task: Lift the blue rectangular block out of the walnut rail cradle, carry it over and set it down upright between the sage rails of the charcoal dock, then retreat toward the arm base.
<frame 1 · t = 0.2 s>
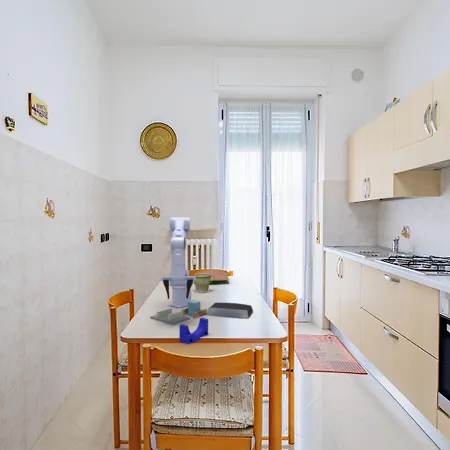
hand: (177, 298, 147), 10 cm above the table, tool pointing down, fingers open, 7 cm apart
cable clip: (195, 339, 131), on the table
dock: (170, 318, 155), on the table
ceramic cup: (204, 291, 210), on the table
sandwich: (211, 281, 246), on the table
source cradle: (194, 314, 161), on the table
external hard drive: (230, 315, 164), on the table
blue rectangular block: (194, 314, 161), on the table
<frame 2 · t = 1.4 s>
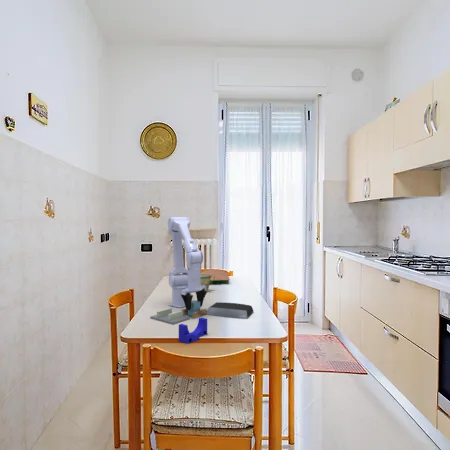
hand: (194, 308, 161), 3 cm above the table, tool pointing down, fingers open, 7 cm apart
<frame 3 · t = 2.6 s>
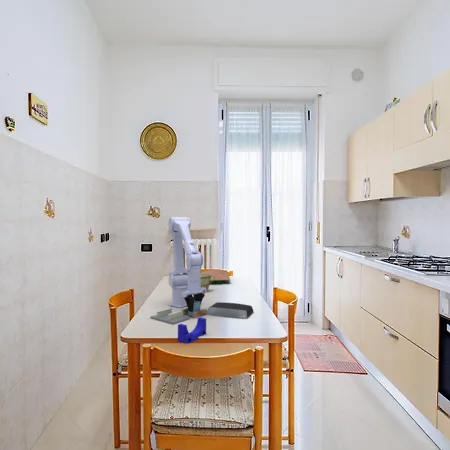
hand: (194, 310, 161), 2 cm above the table, tool pointing down, fingers closed on blue rectangular block, 4 cm apart
blue rectangular block: (194, 314, 161), on the table, touching gripper
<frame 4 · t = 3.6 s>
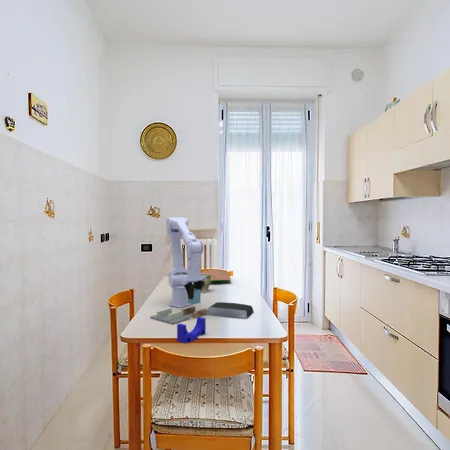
hand: (194, 298, 161), 8 cm above the table, tool pointing down, fingers closed on blue rectangular block, 4 cm apart
blue rectangular block: (194, 302, 161), point 5 cm above the table, touching gripper
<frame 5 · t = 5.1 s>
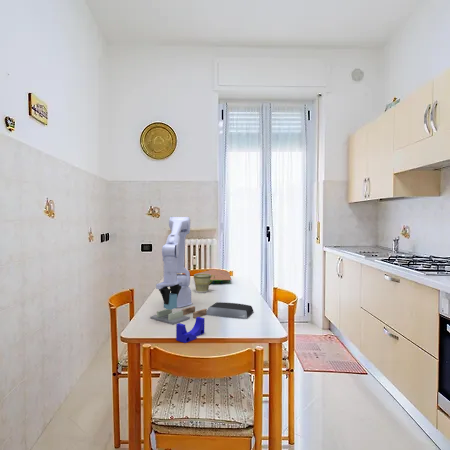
hand: (170, 303, 154), 7 cm above the table, tool pointing down, fingers closed on blue rectangular block, 4 cm apart
blue rectangular block: (170, 307, 154), point 5 cm above the table, touching gripper
when the fingers open (4 cm above the table, at t = 6.4 s): blue rectangular block stays where it is, resting on dock.
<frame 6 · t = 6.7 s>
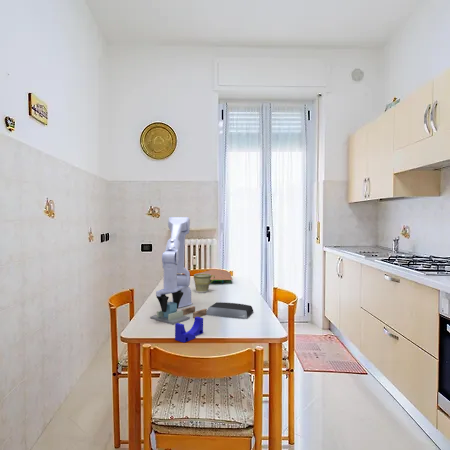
hand: (170, 310, 154), 4 cm above the table, tool pointing down, fingers open, 6 cm apart
blue rectangular block: (170, 316, 154), point 1 cm above the table, touching dock
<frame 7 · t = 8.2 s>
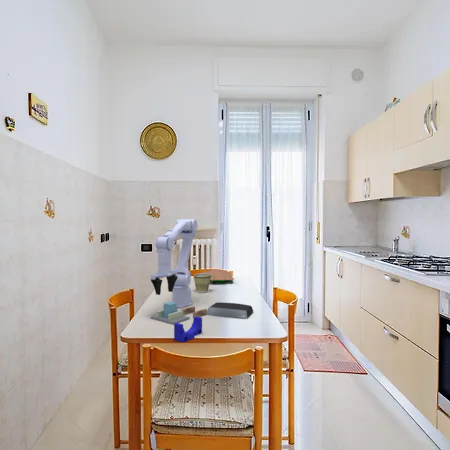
hand: (164, 293, 162), 9 cm above the table, tool pointing down, fingers open, 7 cm apart
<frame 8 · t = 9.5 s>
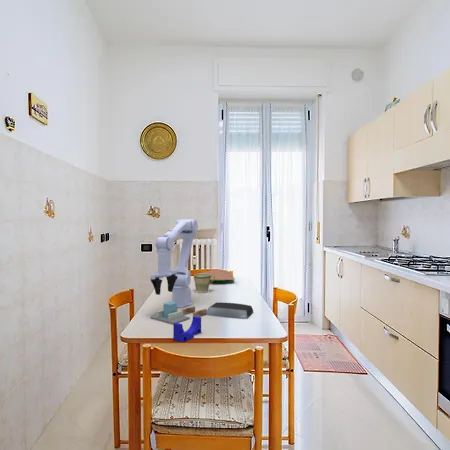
hand: (164, 293, 162), 9 cm above the table, tool pointing down, fingers open, 7 cm apart
at the end: blue rectangular block 0.1 cm off-centre on the dock, point 0.8 cm above the dock's base; blue rectangular block tilted 0°; the gripper is holding nothing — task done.
